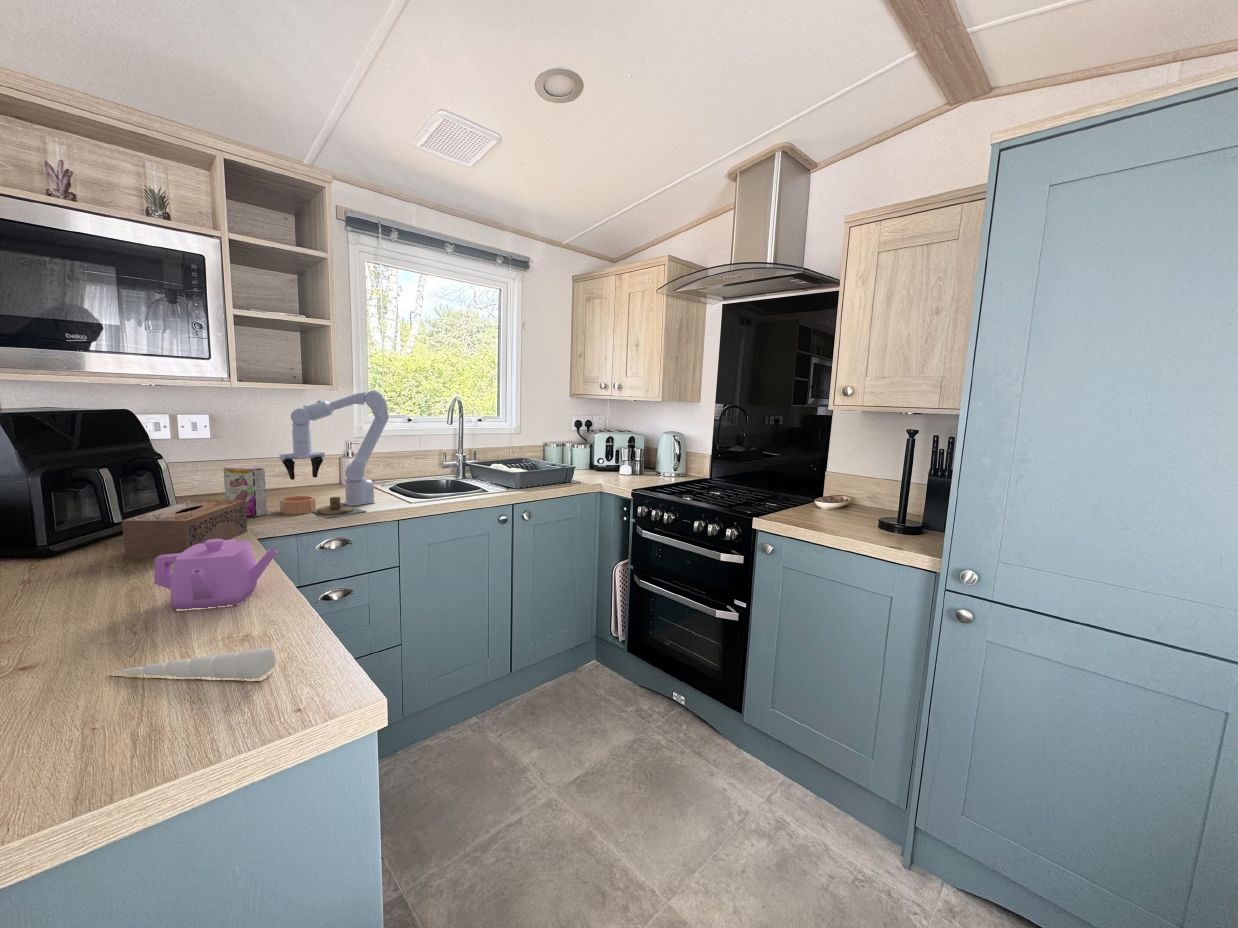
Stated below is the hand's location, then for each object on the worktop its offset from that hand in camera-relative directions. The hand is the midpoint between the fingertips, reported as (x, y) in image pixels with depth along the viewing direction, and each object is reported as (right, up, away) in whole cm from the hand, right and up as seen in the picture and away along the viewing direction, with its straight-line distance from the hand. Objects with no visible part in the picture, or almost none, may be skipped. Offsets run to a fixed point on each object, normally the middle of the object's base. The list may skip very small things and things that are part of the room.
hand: (303, 478), depth 191 cm
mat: (+16, -12, -6) cm, 21 cm away
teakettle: (+33, -23, -83) cm, 92 cm away
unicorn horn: (+51, -28, -112) cm, 127 cm away
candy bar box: (-10, -12, -15) cm, 22 cm away
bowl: (+2, -12, -7) cm, 13 cm away
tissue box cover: (-2, -17, -48) cm, 51 cm away
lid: (+15, -12, -7) cm, 21 cm away
